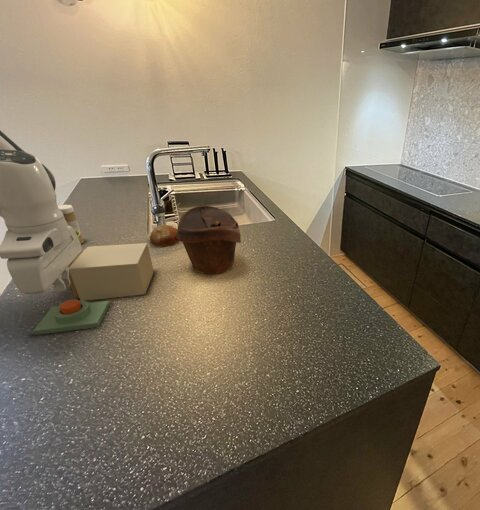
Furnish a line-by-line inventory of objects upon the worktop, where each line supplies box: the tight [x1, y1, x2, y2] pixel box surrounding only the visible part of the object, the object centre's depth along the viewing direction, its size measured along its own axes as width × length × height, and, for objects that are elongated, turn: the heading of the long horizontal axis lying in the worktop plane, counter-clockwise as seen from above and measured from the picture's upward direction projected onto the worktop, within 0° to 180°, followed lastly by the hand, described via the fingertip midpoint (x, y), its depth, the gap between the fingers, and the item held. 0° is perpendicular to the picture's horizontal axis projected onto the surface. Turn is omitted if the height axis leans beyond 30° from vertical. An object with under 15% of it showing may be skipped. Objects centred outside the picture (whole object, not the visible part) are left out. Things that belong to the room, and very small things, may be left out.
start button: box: [59, 299, 81, 314], centre depth 72 cm, size 4×4×2 cm
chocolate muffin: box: [176, 205, 242, 275], centre depth 97 cm, size 18×20×18 cm
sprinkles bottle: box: [57, 204, 85, 244], centre depth 104 cm, size 5×5×14 cm
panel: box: [32, 299, 111, 336], centre depth 73 cm, size 12×9×3 cm
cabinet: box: [69, 242, 155, 302], centre depth 85 cm, size 15×13×10 cm
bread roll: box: [149, 224, 180, 247], centre depth 113 cm, size 10×10×8 cm
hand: (63, 287), depth 70 cm, fingers closed
